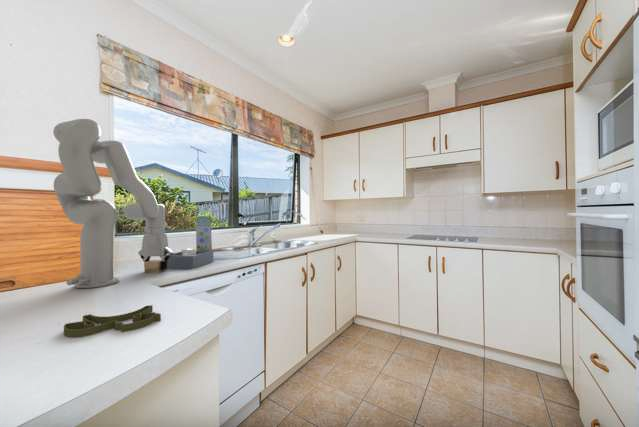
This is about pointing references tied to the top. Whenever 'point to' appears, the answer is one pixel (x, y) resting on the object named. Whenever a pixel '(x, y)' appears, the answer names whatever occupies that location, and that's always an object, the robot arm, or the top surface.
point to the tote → (189, 260)
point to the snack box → (203, 233)
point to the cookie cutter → (111, 323)
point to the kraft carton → (153, 266)
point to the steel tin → (189, 252)
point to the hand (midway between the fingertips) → (155, 269)
